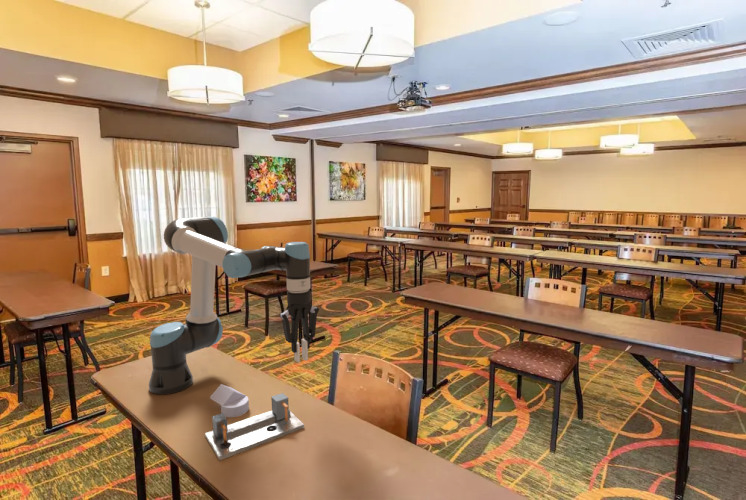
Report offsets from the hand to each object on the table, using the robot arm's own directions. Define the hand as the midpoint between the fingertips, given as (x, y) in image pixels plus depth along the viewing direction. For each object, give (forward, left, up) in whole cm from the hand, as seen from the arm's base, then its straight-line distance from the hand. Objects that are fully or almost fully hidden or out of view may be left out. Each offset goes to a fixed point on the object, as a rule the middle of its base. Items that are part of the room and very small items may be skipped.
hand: (301, 359), depth 136 cm
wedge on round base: (-18, -18, -19) cm, 31 cm away
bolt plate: (+2, -17, -18) cm, 25 cm away
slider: (+2, -8, -17) cm, 19 cm away
